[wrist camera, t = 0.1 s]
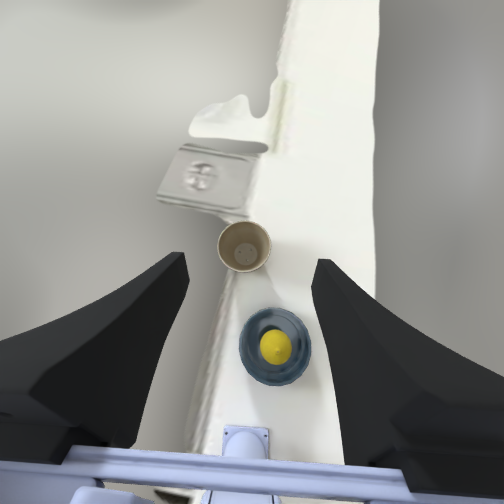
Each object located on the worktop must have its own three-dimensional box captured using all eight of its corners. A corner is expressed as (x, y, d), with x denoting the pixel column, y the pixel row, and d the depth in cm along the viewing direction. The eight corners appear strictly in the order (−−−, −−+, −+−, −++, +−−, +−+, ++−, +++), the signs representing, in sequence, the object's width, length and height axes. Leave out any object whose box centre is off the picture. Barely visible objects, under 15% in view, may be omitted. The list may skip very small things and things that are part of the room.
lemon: (274, 321, 40) (279, 325, 32) (293, 343, 39) (303, 354, 31) (253, 340, 39) (253, 349, 32) (272, 363, 38) (276, 379, 31)
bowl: (306, 380, 38) (312, 388, 34) (238, 376, 38) (236, 383, 35) (305, 309, 41) (310, 310, 38) (242, 305, 41) (241, 306, 38)
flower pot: (277, 249, 44) (281, 239, 37) (250, 286, 42) (249, 283, 35) (241, 224, 46) (239, 210, 39) (213, 258, 44) (206, 250, 37)
